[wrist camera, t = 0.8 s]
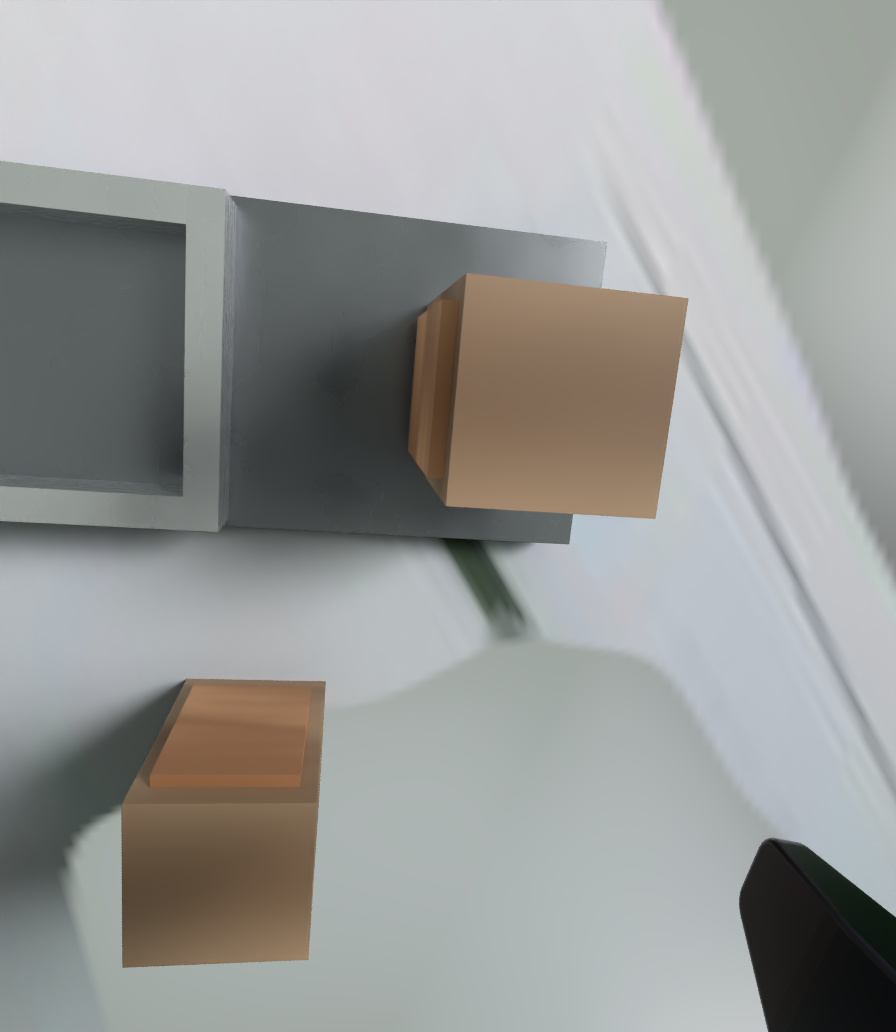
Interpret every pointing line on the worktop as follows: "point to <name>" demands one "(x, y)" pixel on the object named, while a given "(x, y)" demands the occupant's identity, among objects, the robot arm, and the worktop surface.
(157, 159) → the worktop surface
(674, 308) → the brown wooden block
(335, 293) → the grey base plate
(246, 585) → the worktop surface
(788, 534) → the worktop surface
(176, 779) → the tan wooden block
